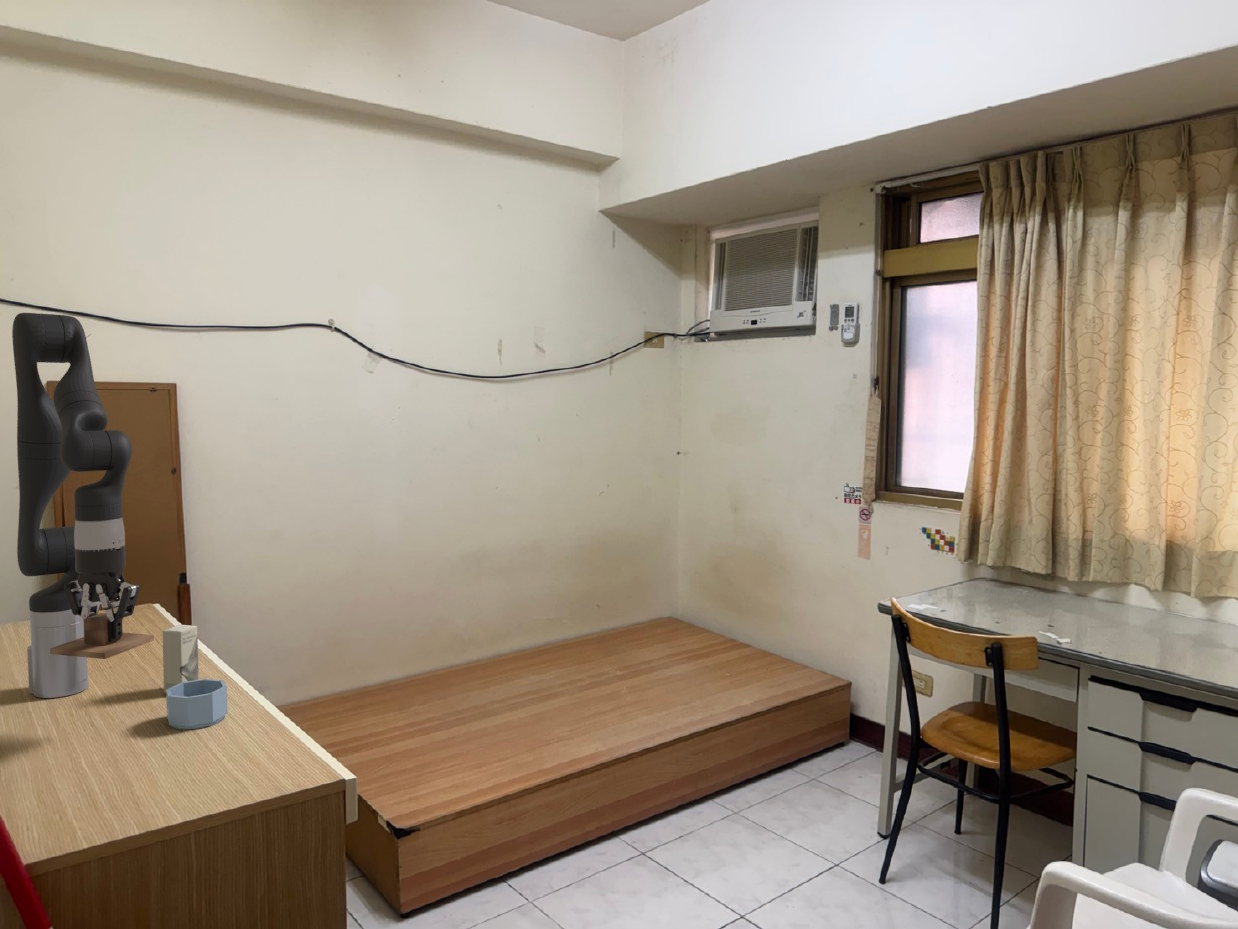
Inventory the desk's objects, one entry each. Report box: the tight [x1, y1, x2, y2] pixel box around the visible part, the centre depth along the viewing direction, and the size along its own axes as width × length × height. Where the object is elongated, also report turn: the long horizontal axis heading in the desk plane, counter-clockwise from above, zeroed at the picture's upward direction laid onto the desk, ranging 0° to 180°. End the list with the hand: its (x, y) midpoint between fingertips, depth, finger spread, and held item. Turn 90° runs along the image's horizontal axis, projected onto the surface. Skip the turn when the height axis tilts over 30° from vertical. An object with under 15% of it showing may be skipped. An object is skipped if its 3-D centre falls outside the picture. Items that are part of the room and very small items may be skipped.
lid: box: [50, 612, 155, 660], centre depth 146 cm, size 11×11×6 cm
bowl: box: [165, 678, 229, 731], centre depth 153 cm, size 10×10×6 cm
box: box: [162, 624, 200, 693], centre depth 168 cm, size 5×4×13 cm
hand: (103, 639), depth 146 cm, fingers closed on lid, 4 cm apart
